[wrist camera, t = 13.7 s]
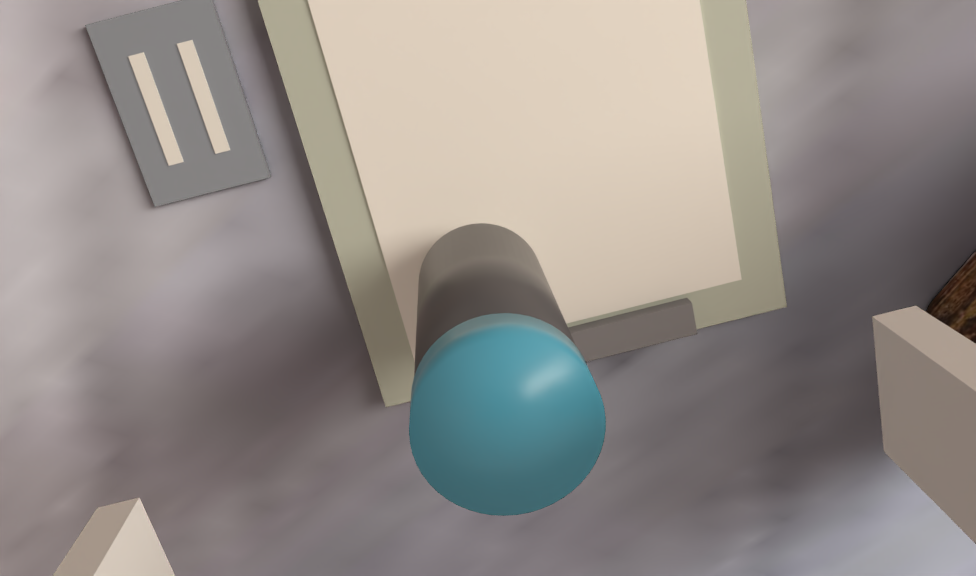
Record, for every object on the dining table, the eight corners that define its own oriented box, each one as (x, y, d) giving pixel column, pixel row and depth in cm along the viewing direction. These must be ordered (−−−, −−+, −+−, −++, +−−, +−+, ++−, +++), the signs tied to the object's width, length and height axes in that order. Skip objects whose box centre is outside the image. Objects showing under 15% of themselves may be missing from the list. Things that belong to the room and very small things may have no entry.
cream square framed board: (245, -52, 26) (235, -55, 24) (713, -173, 26) (728, -183, 24) (386, 397, 31) (384, 414, 30) (778, 299, 31) (793, 312, 29)
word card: (89, 25, 26) (84, 25, 26) (210, -7, 26) (207, -7, 26) (157, 205, 28) (154, 207, 28) (271, 176, 28) (269, 177, 28)
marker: (404, 224, 28) (385, 366, 17) (522, 195, 28) (585, 317, 16) (434, 333, 29) (437, 534, 18) (547, 305, 29) (621, 489, 18)
